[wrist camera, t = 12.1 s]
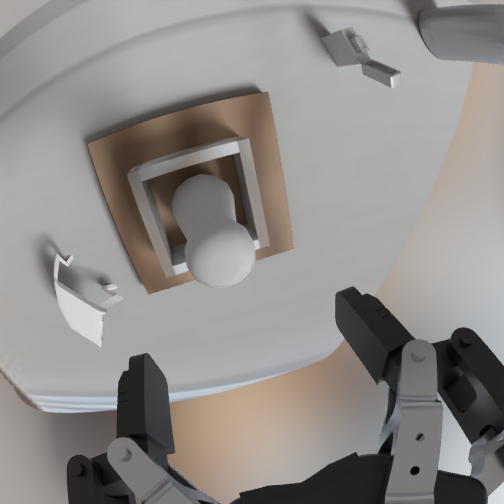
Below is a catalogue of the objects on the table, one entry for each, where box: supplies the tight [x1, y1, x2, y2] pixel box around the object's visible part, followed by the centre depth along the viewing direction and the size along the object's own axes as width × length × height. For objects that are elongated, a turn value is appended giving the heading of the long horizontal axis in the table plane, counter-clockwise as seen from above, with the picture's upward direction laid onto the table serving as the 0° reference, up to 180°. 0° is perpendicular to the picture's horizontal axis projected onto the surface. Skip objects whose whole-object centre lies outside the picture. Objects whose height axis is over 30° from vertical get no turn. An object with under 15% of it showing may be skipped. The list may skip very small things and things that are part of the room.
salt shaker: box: [172, 174, 255, 288], centre depth 21 cm, size 6×6×13 cm
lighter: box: [321, 27, 401, 88], centre depth 21 cm, size 7×2×8 cm, turn 34°
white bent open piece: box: [54, 254, 124, 347], centre depth 27 cm, size 12×8×5 cm
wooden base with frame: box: [88, 92, 294, 294], centre depth 25 cm, size 18×18×6 cm
